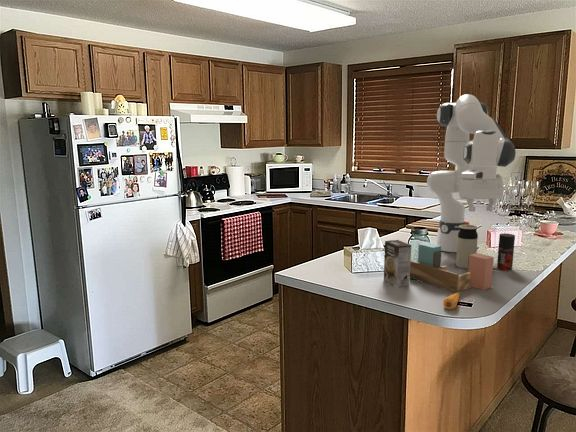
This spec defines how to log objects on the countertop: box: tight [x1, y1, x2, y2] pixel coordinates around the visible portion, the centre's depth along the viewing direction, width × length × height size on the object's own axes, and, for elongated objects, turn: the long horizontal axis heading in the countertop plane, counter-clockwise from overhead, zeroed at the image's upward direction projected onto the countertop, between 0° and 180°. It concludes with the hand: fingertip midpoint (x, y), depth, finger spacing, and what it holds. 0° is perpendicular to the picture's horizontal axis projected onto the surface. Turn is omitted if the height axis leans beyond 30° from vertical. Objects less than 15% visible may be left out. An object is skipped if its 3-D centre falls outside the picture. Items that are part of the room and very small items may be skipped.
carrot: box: [443, 291, 461, 311], centre depth 164 cm, size 20×4×4 cm, turn 149°
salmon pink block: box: [466, 252, 495, 291], centre depth 178 cm, size 5×8×12 cm, turn 36°
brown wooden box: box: [409, 260, 471, 294], centre depth 183 cm, size 9×22×7 cm, turn 36°
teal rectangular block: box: [417, 242, 442, 268], centre depth 187 cm, size 5×8×12 cm, turn 36°
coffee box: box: [383, 239, 412, 287], centre depth 183 cm, size 9×6×16 cm
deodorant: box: [496, 232, 516, 272], centre depth 199 cm, size 6×6×15 cm
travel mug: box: [455, 224, 479, 270], centre depth 202 cm, size 8×8×18 cm
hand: (480, 211), depth 175 cm, fingers open, 8 cm apart
